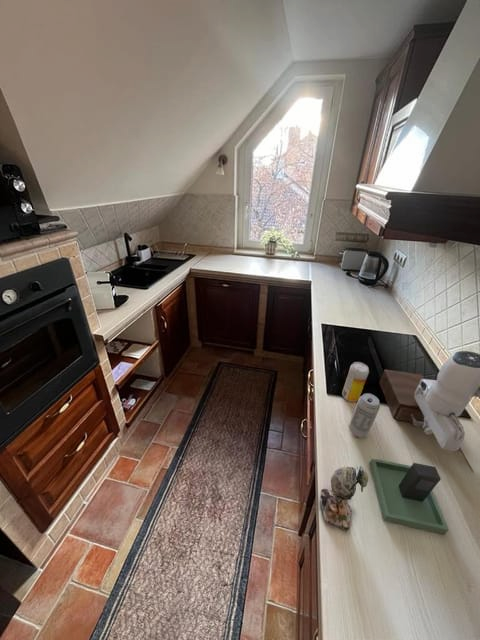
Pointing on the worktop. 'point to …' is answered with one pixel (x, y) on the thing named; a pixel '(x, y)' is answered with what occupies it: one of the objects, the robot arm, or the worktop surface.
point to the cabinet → (399, 389)
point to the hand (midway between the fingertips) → (426, 431)
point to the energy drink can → (364, 415)
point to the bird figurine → (342, 495)
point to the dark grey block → (419, 482)
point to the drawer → (411, 415)
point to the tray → (404, 499)
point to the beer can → (355, 381)
